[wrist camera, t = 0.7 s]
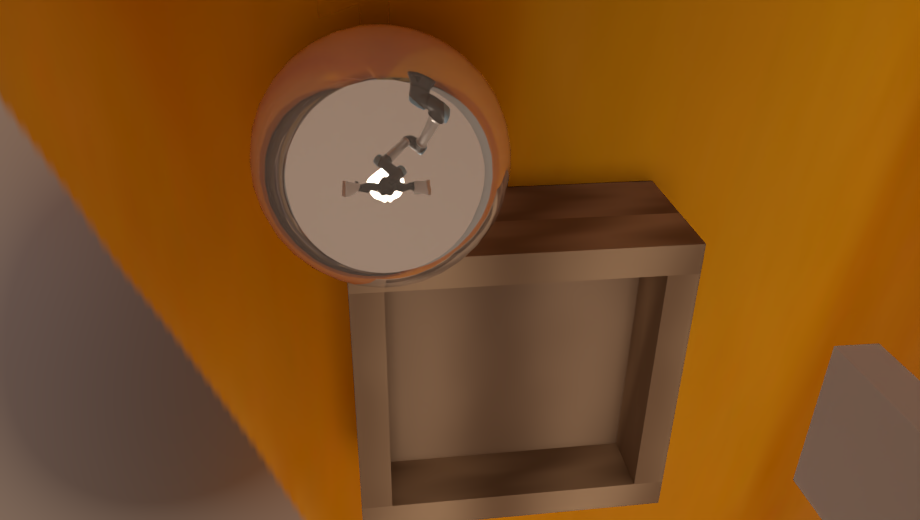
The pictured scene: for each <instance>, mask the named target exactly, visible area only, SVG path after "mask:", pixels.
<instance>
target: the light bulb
mask: <svg viewBox="0 0 920 520" xmlns="http://www.w3.org/2000/svg"><path fill="white" fill-rule="evenodd" d="M250 167H251V174H252V182H253V188H254V190H255V193H256V196H257V199H258V201H259V204H260V207H261V209H262V211H263V213H264V215H265V216H266V218H267V220H268V221H269V223H270V225H271V226H272V228H273V229H274V231H275V233H276V234H277V236H278V238H279V239H280V240H281V241H282V242H283V243H284V244H285V245H286V246H287V247H288V248H289V249H290V250H291V251H292V253H293V254H294V255H296V256H297V257H299V258H300V259H301V260H303V261H304V262H305V263H307V264H308V265H310V266H311V267H312V268H314V269H316V270H318V271H320V272H322V273H325V274H327V275H329V276H331V277H333V278H335V279H337V280H340V281H344V282H348V283H351V284H355V285H358V286H367V287H377V288H385V287H400V286H405V285H409V284H414V283H418V282H422V281H424V280H427V279H429V278H431V277H434V276H436V275H438V274H441V273H443V272H444V271H446V270H447V269H449V268H450V267H452V266H453V265H455V264H456V263H458V262H459V261H461V260H462V259H463V258H464V257H465V256H466V255H467V254H469V253H470V252H471V251H472V250H473V249H474V248H475V247H476V246H477V245H478V244H479V243H480V242H481V241H482V239H483V238H484V237H485V235H486V234H487V232H488V231H489V230H490V228H491V227H492V226H493V224H494V222H495V220H496V217H497V215H498V213H499V211H500V209H501V207H502V205H503V201H504V197H505V193H506V189H507V185H508V181H509V177H510V169H511V146H510V141H509V135H508V129H507V124H506V120H505V117H504V114H503V112H502V109H501V107H500V104H499V102H498V99H497V97H496V94H495V93H494V91H493V90H492V88H491V87H490V85H489V84H488V82H487V81H486V79H485V78H484V76H483V75H482V74H481V73H480V72H479V71H478V70H477V69H476V68H475V67H474V66H473V65H472V64H471V63H470V62H469V61H468V60H467V59H466V58H465V57H464V56H463V55H462V54H461V53H460V52H459V51H457V50H456V49H454V48H452V47H451V46H449V45H448V44H446V43H445V42H443V41H442V40H440V39H438V38H437V37H434V36H431V35H429V34H426V33H424V32H421V31H419V30H416V29H413V28H407V27H401V26H396V25H390V24H378V25H360V26H355V27H351V28H347V29H342V30H338V31H335V32H333V33H331V34H329V35H326V36H324V37H322V38H320V39H318V40H315V41H313V42H312V43H310V44H309V45H308V46H306V47H305V48H304V49H302V50H301V51H300V52H298V53H297V54H295V55H294V56H293V57H292V58H291V59H290V60H289V61H288V62H287V63H286V65H285V66H284V67H283V68H282V69H281V70H280V71H279V72H278V74H277V75H276V76H275V77H274V79H273V81H272V82H271V84H270V86H269V87H268V89H267V91H266V93H265V94H264V96H263V98H262V100H261V102H260V103H259V106H258V109H257V113H256V116H255V119H254V122H253V126H252V131H251V144H250Z"/></svg>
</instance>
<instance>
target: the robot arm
mask: <svg viewBox="0 0 920 520" xmlns="http://www.w3.org/2000/svg"><path fill="white" fill-rule="evenodd" d="M793 480H794V482H795V483H796V484H797V486H798V487H799V488H800V490H801V491H802V493H803V494H804V495H805V497H806V498H807V499H808V501H809V502H810V504H811V505H812V506H813V508H814V509H815V510H816V512H817V513H818V515H819V516H820V517H821V519H822V520H920V381H919V380H918V379H917V378H916V377H915V376H914V375H913V374H912V373H911V372H909V371H908V370H907V369H906V368H905V367H904V366H903V365H902V364H901V363H900V362H899V361H897V360H896V359H895V358H894V357H893V356H892V355H891V354H890V353H889V352H888V351H887V350H886V349H884V348H883V347H882V346H881V345H880V344H863V345H846V346H834V349H833V352H832V356H831V359H830V362H829V365H828V369H827V372H826V375H825V378H824V382H823V385H822V388H821V391H820V395H819V398H818V401H817V404H816V408H815V411H814V414H813V417H812V421H811V424H810V427H809V430H808V434H807V437H806V440H805V443H804V446H803V450H802V453H801V456H800V459H799V463H798V466H797V469H796V472H795V476H794V479H793Z"/></svg>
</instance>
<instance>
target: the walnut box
mask: <svg viewBox="0 0 920 520" xmlns="http://www.w3.org/2000/svg"><path fill="white" fill-rule="evenodd" d="M705 246H706V244H705V242H704V241H703V240H702V239H701V238H700V237H699V235H698V234H697V233H696V232H695V231H694V229H693V228H692V227H691V226H690V225H689V224H688V222H687V221H686V220H685V219H684V218H683V217H682V215H681V214H680V213H679V212H678V211H677V210H676V208H675V207H674V206H673V205H672V204H671V203H670V201H669V200H668V199H667V198H666V197H665V195H664V194H663V193H662V192H661V191H660V190H659V188H658V187H657V186H656V185H655V184H654V183H653V181H639V182H615V183H592V184H568V185H545V186H521V187H507V189H506V193H505V197H504V201H503V205H502V207H501V209H500V211H499V213H498V215H497V217H496V220H495V222H494V224H493V226H492V227H491V228H490V230H489V231H488V232H487V234H486V235H485V237H484V238H483V239H482V241H481V242H480V243H479V244H478V245H477V246H476V247H475V248H474V249H473V250H472V251H471V252H470V253H469V254H467V255H466V256H465V257H464V258H463V259H462V260H461V261H459V262H458V263H456V264H455V265H453V266H452V267H450V268H449V269H447V270H446V271H444V272H443V273H441V274H438V275H436V276H434V277H431V278H429V279H427V280H424V281H422V282H418V283H414V284H409V285H405V286H400V287H385V288H377V287H367V286H358V285H355V284H351V283H348V297H349V313H350V328H351V344H352V359H353V375H354V390H355V406H356V421H357V437H358V452H359V468H360V483H361V499H362V515H363V520H478V519H489V518H499V517H510V516H521V515H531V514H542V513H553V512H563V511H574V510H585V509H595V508H606V507H617V506H627V505H638V504H649V503H658V500H659V495H660V490H661V484H662V479H663V473H664V468H665V463H666V457H667V452H668V446H669V441H670V436H671V430H672V425H673V419H674V414H675V409H676V403H677V398H678V392H679V387H680V381H681V376H682V371H683V365H684V360H685V354H686V349H687V344H688V338H689V333H690V327H691V322H692V317H693V311H694V306H695V300H696V295H697V290H698V284H699V279H700V273H701V268H702V262H703V257H704V252H705Z"/></svg>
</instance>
